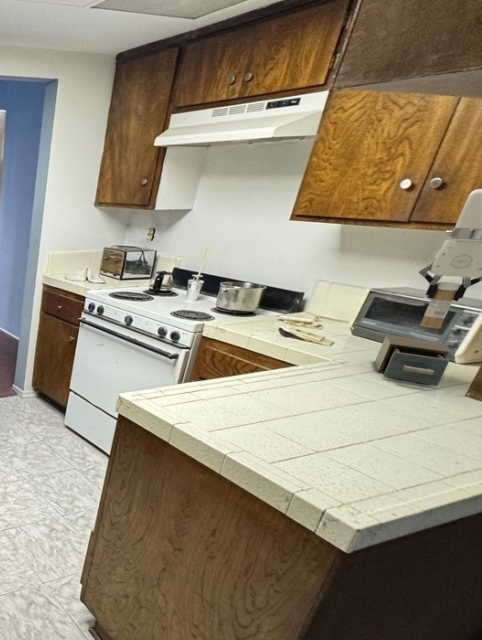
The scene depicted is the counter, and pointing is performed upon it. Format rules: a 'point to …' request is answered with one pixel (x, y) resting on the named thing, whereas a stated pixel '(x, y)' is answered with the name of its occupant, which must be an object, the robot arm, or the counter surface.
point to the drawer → (415, 365)
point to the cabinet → (408, 344)
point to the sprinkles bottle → (439, 305)
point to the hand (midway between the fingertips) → (442, 298)
